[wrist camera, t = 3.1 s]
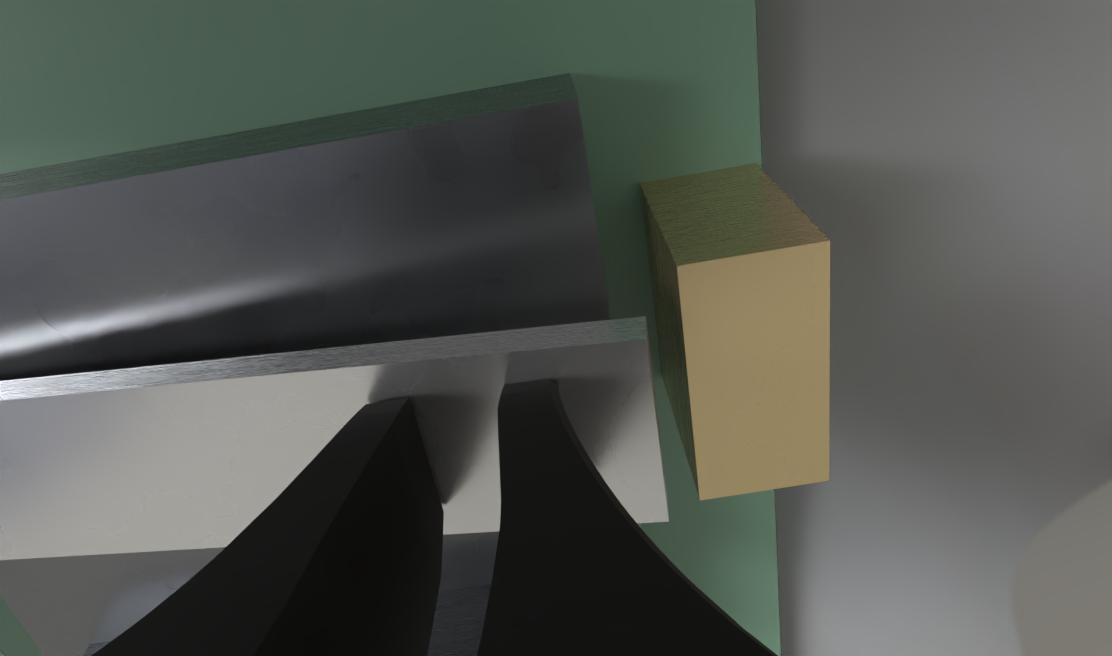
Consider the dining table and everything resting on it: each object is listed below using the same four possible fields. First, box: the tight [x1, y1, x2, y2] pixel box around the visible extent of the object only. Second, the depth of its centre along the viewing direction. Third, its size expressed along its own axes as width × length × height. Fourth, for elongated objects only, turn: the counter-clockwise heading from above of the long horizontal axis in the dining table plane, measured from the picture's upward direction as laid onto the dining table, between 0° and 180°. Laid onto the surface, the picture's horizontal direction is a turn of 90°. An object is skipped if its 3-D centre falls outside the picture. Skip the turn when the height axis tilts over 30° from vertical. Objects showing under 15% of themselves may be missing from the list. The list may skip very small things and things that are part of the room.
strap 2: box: [0, 316, 669, 560], centre depth 11 cm, size 12×3×1 cm, turn 99°
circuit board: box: [0, 0, 781, 656], centre depth 18 cm, size 18×28×1 cm, turn 9°
